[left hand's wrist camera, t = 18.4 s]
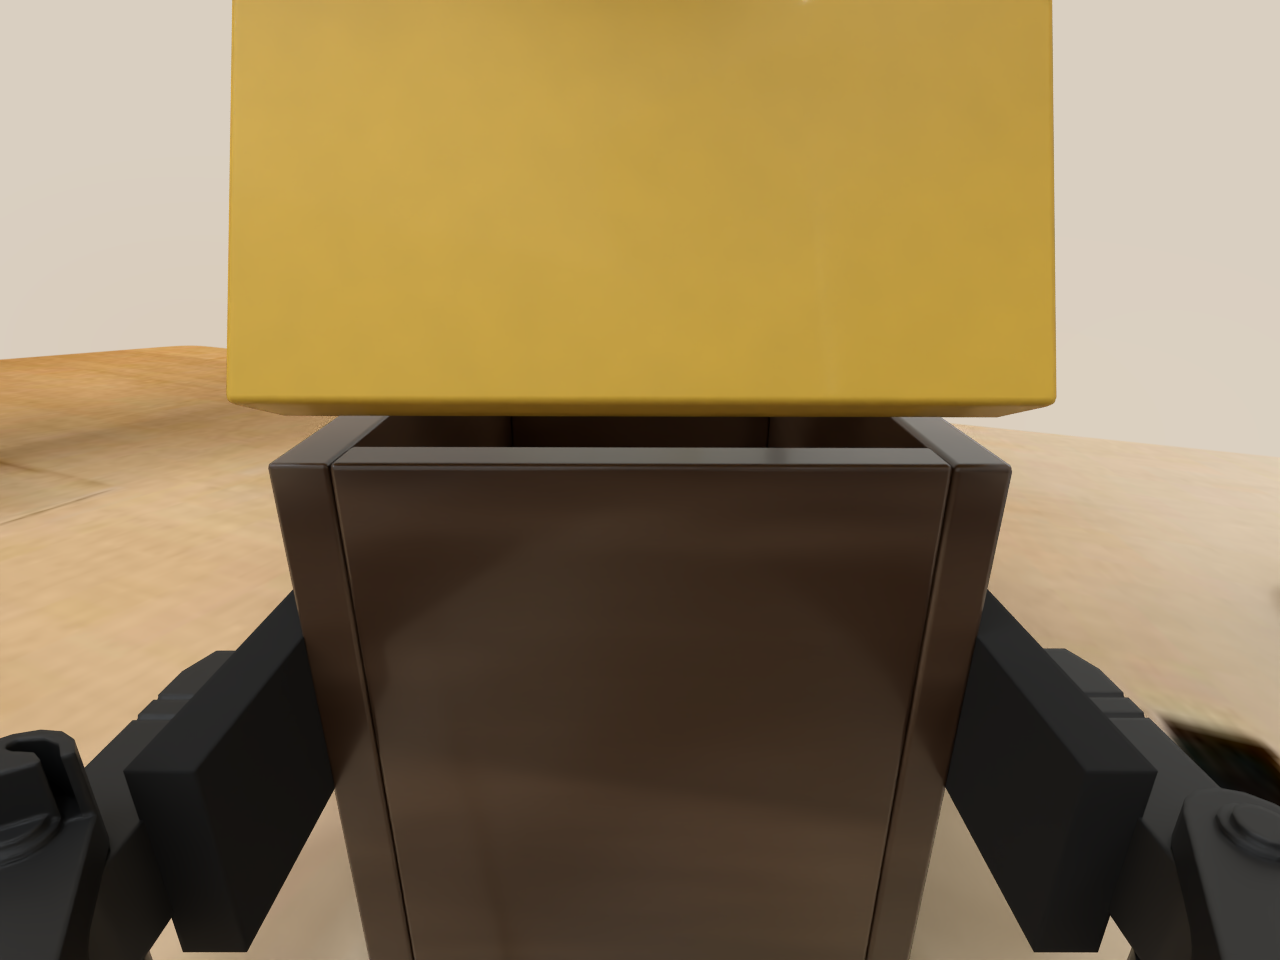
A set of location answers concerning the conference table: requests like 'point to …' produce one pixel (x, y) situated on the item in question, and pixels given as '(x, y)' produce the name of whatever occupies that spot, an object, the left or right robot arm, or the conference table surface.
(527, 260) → the lid
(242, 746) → the left robot arm
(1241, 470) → the conference table surface
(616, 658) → the chest
